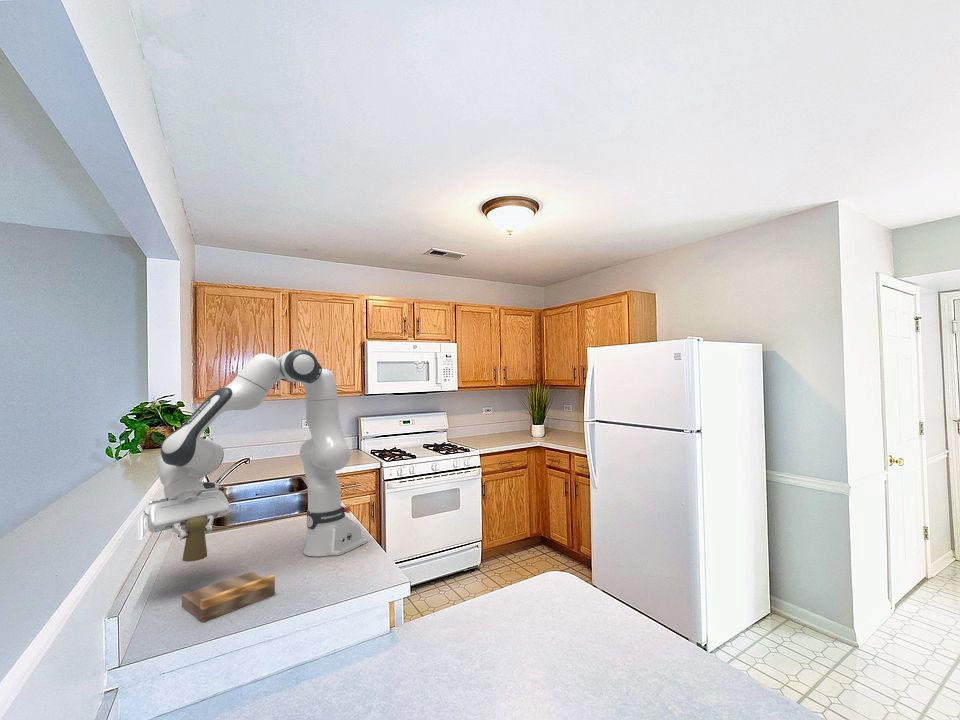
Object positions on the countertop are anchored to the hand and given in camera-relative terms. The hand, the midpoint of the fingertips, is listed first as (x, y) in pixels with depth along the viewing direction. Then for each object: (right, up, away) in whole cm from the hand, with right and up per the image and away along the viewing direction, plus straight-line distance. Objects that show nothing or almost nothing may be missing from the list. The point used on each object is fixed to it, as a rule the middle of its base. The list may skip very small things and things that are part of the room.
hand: (196, 534), depth 127 cm
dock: (+12, -16, -6) cm, 21 cm away
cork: (0, -7, 0) cm, 7 cm away
